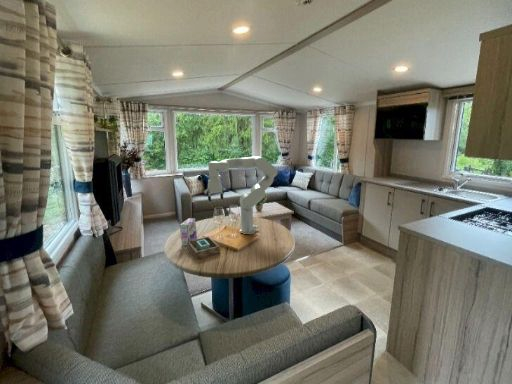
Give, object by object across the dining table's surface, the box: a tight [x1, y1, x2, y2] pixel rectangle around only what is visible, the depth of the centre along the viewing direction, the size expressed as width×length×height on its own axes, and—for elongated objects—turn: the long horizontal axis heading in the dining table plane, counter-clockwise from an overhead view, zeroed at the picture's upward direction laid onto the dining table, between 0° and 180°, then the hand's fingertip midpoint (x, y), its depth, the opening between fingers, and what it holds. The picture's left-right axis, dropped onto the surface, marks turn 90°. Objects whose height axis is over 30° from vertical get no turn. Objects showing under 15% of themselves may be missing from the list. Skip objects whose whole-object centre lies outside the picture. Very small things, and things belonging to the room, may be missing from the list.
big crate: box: [187, 235, 221, 260], centre depth 173 cm, size 16×20×5 cm
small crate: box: [196, 239, 210, 251], centre depth 173 cm, size 6×10×5 cm, turn 30°
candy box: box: [179, 217, 198, 247], centre depth 186 cm, size 14×6×16 cm, turn 168°
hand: (215, 200), depth 193 cm, fingers open, 9 cm apart
